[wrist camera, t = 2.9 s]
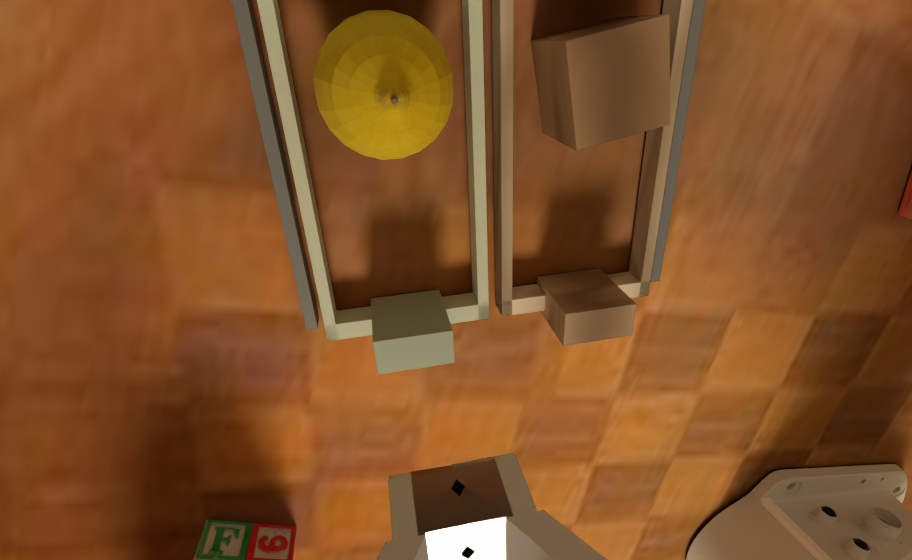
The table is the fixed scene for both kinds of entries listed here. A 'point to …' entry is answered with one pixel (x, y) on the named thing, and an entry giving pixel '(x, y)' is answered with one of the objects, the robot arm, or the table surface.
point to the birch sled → (609, 296)
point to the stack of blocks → (245, 541)
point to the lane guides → (280, 173)
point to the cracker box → (907, 200)
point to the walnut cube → (604, 80)
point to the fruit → (383, 84)
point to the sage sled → (407, 315)
